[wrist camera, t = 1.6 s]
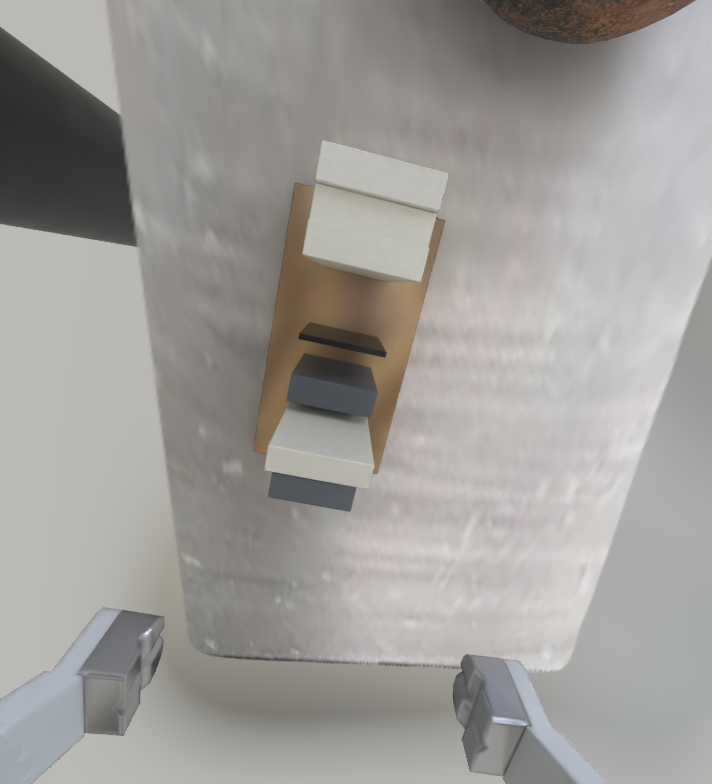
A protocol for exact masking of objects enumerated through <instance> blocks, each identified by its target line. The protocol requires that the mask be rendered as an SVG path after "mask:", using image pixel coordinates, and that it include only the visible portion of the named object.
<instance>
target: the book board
mask: <svg viewBox="0 0 712 784" xmlns="http://www.w3.org/2000/svg"><path fill="white" fill-rule="evenodd" d="M313 194H314V187H310V186H306V185H302V184H299V183H295V186H294V192H293V198H292V205H291V211H290V218H289V224H288V231H287V237H286V244H285V250H284V256H283V263H282V269H281V276H280V282H279V289H278V295H277V301H276V308H275V314H274V321H273V327H272V334H271V340H270V346H269V353H268V359H267V366H266V372H265V379H264V385H263V391H262V398H261V404H260V411H259V417H258V424H257V430H256V436H255V443H254V449H253V451H256V452H261V453H266V454H267V449H268V445H269V443H270V441H271V439H272V437H273V435H274V432H275V430H276V428H277V426H278V424H279V422H280V420H281V418H282V416H283V414H284V412H285V410H286V408H287V406H288V404H289V402H287V401H286V400H287V395H288V389H289V383H290V378H291V374H292V372H293V370H294V369H295V367H296V366H297V364H298V362H299V361H300V359H301V357H302V356H303V354H304V353H306V354H311V355H315V356H320V357H325V358H329V359H334V360H339V361H344V362H348V363H353V364H358V365H362V366H367V367H371V369H372V372H373V376H374V380H375V383H376V387H377V390H378V394H377V398H376V402H375V406H374V410H373V414H372V418H367V419H368V426H369V433H370V440H371V447H372V453H373V460H374V470H373V474H378V470H379V466H380V462H381V459H382V455H383V451H384V447H385V444H386V440H387V436H388V432H389V429H390V425H391V421H392V417H393V414H394V410H395V406H396V403H397V399H398V395H399V391H400V388H401V384H402V380H403V376H404V373H405V369H406V365H407V361H408V358H409V354H410V350H411V346H412V343H413V339H414V335H415V331H416V328H417V324H418V320H419V316H420V313H421V309H422V305H423V301H424V298H425V294H426V290H427V286H428V283H429V279H430V275H431V272H432V268H433V264H434V260H435V257H436V253H437V249H438V245H439V242H440V238H441V234H442V230H443V227H444V223H445V220H441V219H437V218H436V219H435V223H434V227H433V231H432V235H431V239H430V243H429V246H428V248H429V252H428V256H427V260H426V264H425V268H424V272H423V275H422V279H421V282H386V281H382V280H378V279H373V278H369V277H365V276H361V275H356V274H352V273H348V272H344V271H339V270H335V269H331V268H327V267H322V266H320V265H319V264H317V263H316V262H314V261H312V260H311V259H309V258H308V257H306V256H304V255H303V254H302V252H303V246H304V240H305V234H306V228H307V222H308V219H309V217H310V211H311V205H312V199H313ZM310 322H311V323H316V324H320V325H325V326H329V327H334V328H338V329H343V330H347V331H352V332H356V333H361V334H365V335H370V336H375V337H378V338H379V340H380V341H381V343H382V345H383V347H384V349H385V350H386V352H387V354H386V357H385V358H384V357H379V356H375V355H370V354H365V353H361V352H356V351H351V350H347V349H342V348H338V347H333V346H328V345H324V344H319V343H314V342H310V341H305V340H300V339H298V337H299V333H300V332H301V331H302V330H303V329H304V328H305V327H306V326H307V325H308V324H309V323H310Z"/></svg>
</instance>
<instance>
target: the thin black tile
mask: <svg viewBox="0 0 712 784" xmlns="http://www.w3.org/2000/svg"><path fill="white" fill-rule="evenodd" d="M298 339H300V340H305V341H310V342H314V343H319V344H324V345H328V346H333V347H338V348H342V349H347V350H351V351H356V352H361V353H365V354H370V355H375V356H379V357H384V358H385V357H386V354H387V352H386V350H385V349H384V347H383V345H382V343H381V341H380V340H379V338H378V337H375V336H370V335H365V334H361V333H356V332H352V331H347V330H343V329H338V328H334V327H329V326H325V325H320V324H316V323H311V322H310V323H309V324H308V325H307V326H306V327H305V328H304V329H303V330H302V331H301V332H300V333H299V337H298Z"/></svg>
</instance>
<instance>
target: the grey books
mask: <svg viewBox="0 0 712 784" xmlns="http://www.w3.org/2000/svg"><path fill="white" fill-rule="evenodd" d="M377 394H378V390H377V387H376V383H375V380H374V376H373V372H372V369H371V367H367V366H362V365H358V364H353V363H348V362H344V361H339V360H334V359H329V358H325V357H320V356H315V355H311V354H306V353H304V354H303V356H302V357H301V359H300V361H299V362H298V364H297V366H296V367H295V369H294V370H293V372H292V374H291V378H290V383H289V389H288V395H287V400H286V401H287V402H292V403H297V404H302V405H307V406H312V407H317V408H322V409H327V410H332V411H337V412H342V413H347V414H352V415H357V416H362V417H367V418H372V414H373V410H374V406H375V402H376V398H377ZM355 491H356V487H352V486H346V485H341V484H336V483H330V482H325V481H319V480H314V479H308V478H303V477H297V476H292V475H287V474H281V473H276V472H272V477H271V483H270V488H269V494H268V497H271V498H276V499H282V500H287V501H293V502H299V503H304V504H310V505H315V506H321V507H327V508H332V509H338V510H344V511H349V512H350V511H351V507H352V503H353V499H354V495H355Z"/></svg>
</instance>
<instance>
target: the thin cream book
mask: <svg viewBox="0 0 712 784" xmlns="http://www.w3.org/2000/svg"><path fill="white" fill-rule="evenodd" d="M264 470H265V471H270V472H276V473H281V474H287V475H292V476H297V477H303V478H308V479H314V480H319V481H325V482H330V483H336V484H341V485H346V486H352V487H357V488H363V489H368V488H369V485H370V481H371V477H372V473H373V470H374V460H373V453H372V447H371V440H370V433H369V426H368V419H367V417H362V416H357V415H352V414H347V413H342V412H337V411H332V410H327V409H322V408H317V407H312V406H307V405H302V404H297V403H292V402H289V404H288V406H287V408H286V410H285V412H284V414H283V416H282V418H281V420H280V422H279V424H278V426H277V428H276V430H275V432H274V435H273V437H272V439H271V441H270V443H269V445H268V449H267V455H266V461H265V466H264Z"/></svg>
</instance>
